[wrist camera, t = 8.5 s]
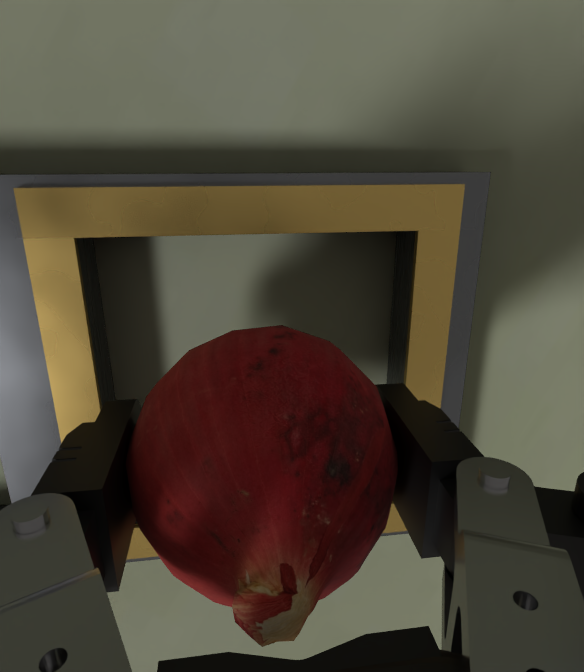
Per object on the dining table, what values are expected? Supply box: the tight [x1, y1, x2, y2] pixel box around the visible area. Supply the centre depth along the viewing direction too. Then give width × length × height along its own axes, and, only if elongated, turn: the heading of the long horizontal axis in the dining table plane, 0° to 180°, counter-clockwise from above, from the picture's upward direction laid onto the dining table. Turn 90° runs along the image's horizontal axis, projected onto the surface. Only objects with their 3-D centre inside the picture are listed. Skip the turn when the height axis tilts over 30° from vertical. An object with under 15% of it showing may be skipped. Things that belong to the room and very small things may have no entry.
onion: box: [125, 325, 398, 647], centre depth 11 cm, size 6×6×8 cm
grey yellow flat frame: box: [0, 172, 491, 562], centre depth 14 cm, size 12×25×2 cm, turn 90°
